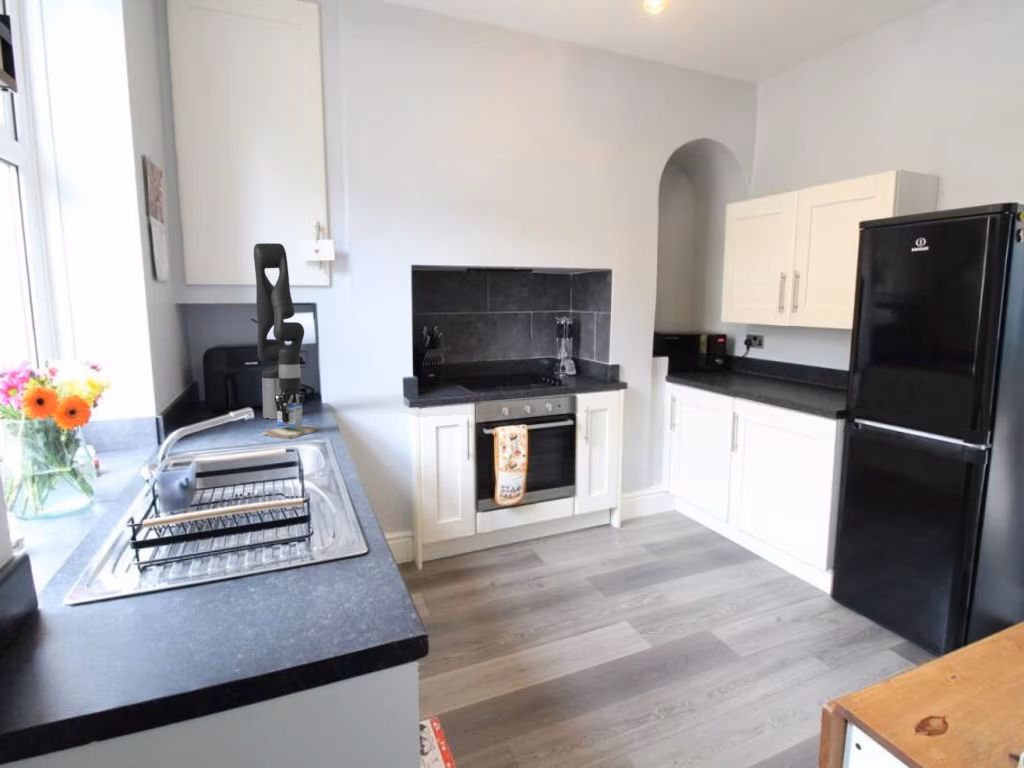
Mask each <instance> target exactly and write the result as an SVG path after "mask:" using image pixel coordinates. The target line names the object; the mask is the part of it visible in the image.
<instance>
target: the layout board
mask: <svg viewBox="0 0 1024 768" xmlns="http://www.w3.org/2000/svg"><path fill="white" fill-rule="evenodd" d="M317 430H318V431H319V427H316V426H310V425H309V426H308V425H303V424H302V425H301V426H298V427H287V426H280V427H277V428H274V429H270V430H265V431H262V432H261V433H262V434H264V435H270V436H274V437H273V438H278V437H279V439H287V440H290V439H293V438H297V437H301V436H303V435H307V433H308V434H310V433H314V431H315V432H317ZM270 436H269V437H270Z"/></svg>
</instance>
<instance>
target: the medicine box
mask: <svg viewBox="0 0 1024 768" xmlns="http://www.w3.org/2000/svg"><path fill="white" fill-rule="evenodd" d="M284 404H287V403H284ZM280 408H281V407H280ZM285 408H286V406H285ZM288 413H289V422H287V423H286V422H283V421H282V412H280V411H277V419H276V421H277V426H278V427H285V426H287V427H298V426H301V425H302V426H303V407H302V403H301V402H299V403H291V405H290V407H289V410H288Z"/></svg>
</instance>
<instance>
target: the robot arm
mask: <svg viewBox="0 0 1024 768" xmlns="http://www.w3.org/2000/svg"><path fill="white" fill-rule="evenodd" d="M287 257H288V255H287V252H286V249H285V247H284V245H283V244H282V243H279V242H278V243H277V242H276V243H274V242H273V243H272V242H271V243H267V242H266V243H264V242H263V243H255V245H254V246H253V262H254V271H255V281H256V282H255V284H256V289H255V290H256V300H255V302H256V316H257V319H256V320H257V347H256V348H257V358H258V359H259V360H260V361H261V362H277V363H276V364H275V365H273V366H272V367H270V368H269V367H268V368H266V369H263V370H262V372H261V385H262V386H261V388H262V392H261V393H262V418H263V417H264V418H263V419H266V418H269V419H268V420H277V411H280V412H282V421H283V422H286V423H287V422H289V413H288V410H289V407H290V405H291V403H302V408H304V402H305V397H306V392H305V391H300V389H301V388H302V387H301V386H302V384H301V383H302V381H301V379H302V378H301V364H300V363H301V362H300V355H301V354H300V353H301V347H302V344H303V340H304V336H305V328H304V326H303V325H302V323H300V322H296V321H295V322H293V321H292V322H291V321H290V322H288V321H287V322H286V321H285V320H289V319H291V318H293V317H294V315H295V308H294V304H293V299H292V295H291V288H290V287H291V285H290V276H289V267H288V266H289V265H288V264H289V263H288V258H287ZM266 269H278V273H279V274H278V277H277V281H276V283H275V285H273V283H272V282H271V281H270V279H269V278H268V276H267V274H266ZM272 328H273V331H272V332H273V333H272V334H273V337H274V338H275V339H274V338H272V339H271V338H269V339H267V337H268V335H269V333H270V330H271V329H272ZM286 342H291V343H290V344H289V346H286ZM284 403H287V404H284ZM285 406H286V408H285ZM280 407H281V408H280Z"/></svg>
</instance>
